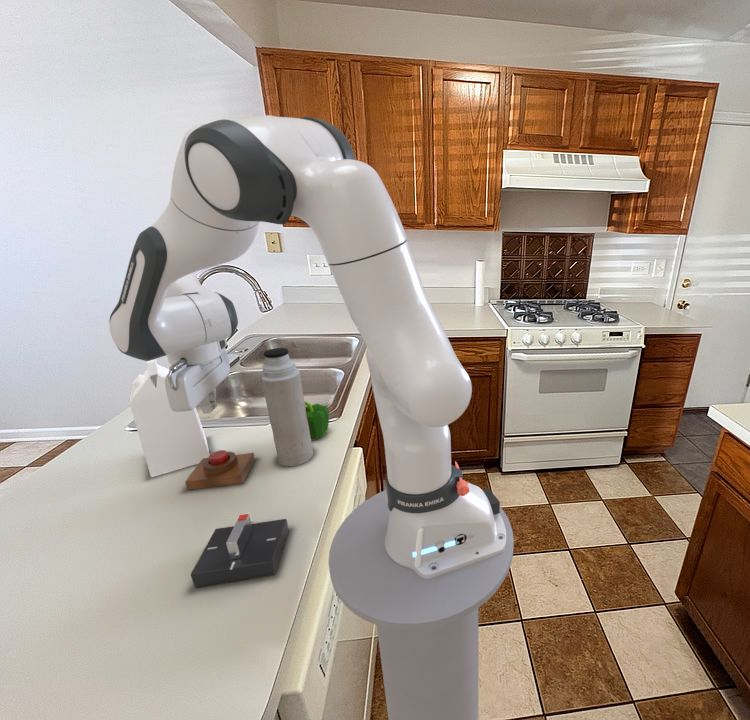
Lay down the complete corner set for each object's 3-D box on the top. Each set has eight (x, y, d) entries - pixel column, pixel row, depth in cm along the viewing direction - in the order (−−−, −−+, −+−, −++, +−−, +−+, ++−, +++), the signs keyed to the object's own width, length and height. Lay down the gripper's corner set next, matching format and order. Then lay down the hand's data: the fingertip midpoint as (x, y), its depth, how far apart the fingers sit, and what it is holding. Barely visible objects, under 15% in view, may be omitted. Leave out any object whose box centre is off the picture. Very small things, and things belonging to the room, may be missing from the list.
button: (231, 455, 92) (229, 449, 92) (225, 464, 89) (223, 458, 89) (214, 457, 92) (212, 451, 91) (207, 466, 88) (205, 460, 88)
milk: (210, 459, 97) (183, 360, 88) (151, 477, 91) (114, 372, 81) (206, 438, 106) (181, 347, 97) (152, 453, 99) (119, 356, 90)
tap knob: (241, 558, 66) (236, 540, 64) (230, 559, 65) (225, 542, 64) (253, 529, 72) (249, 512, 70) (243, 530, 71) (239, 514, 70)
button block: (255, 460, 97) (251, 446, 96) (242, 483, 89) (238, 468, 87) (205, 465, 95) (201, 451, 93) (187, 489, 86) (182, 474, 85)
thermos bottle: (309, 444, 104) (291, 342, 94) (316, 459, 97) (298, 352, 88) (275, 454, 99) (253, 348, 90) (281, 470, 93) (258, 359, 83)
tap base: (289, 529, 76) (286, 516, 75) (274, 576, 66) (271, 562, 65) (220, 539, 73) (216, 526, 72) (193, 590, 63) (188, 575, 62)
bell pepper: (338, 432, 109) (333, 399, 106) (312, 446, 103) (307, 412, 99) (318, 424, 113) (313, 392, 110) (292, 437, 107) (286, 404, 103)
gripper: (185, 368, 73) (205, 433, 78) (228, 336, 91) (242, 390, 96) (147, 371, 72) (169, 437, 76) (198, 338, 90) (213, 392, 95)
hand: (210, 410), depth 87 cm, fingers closed
